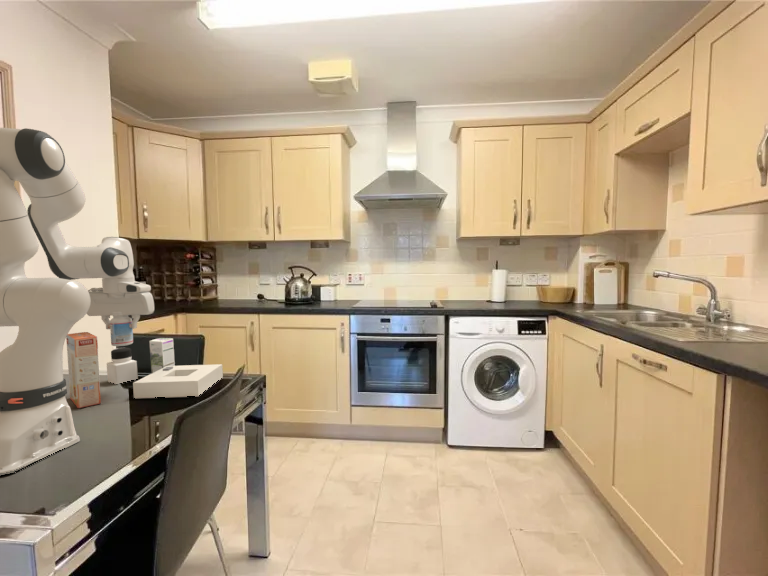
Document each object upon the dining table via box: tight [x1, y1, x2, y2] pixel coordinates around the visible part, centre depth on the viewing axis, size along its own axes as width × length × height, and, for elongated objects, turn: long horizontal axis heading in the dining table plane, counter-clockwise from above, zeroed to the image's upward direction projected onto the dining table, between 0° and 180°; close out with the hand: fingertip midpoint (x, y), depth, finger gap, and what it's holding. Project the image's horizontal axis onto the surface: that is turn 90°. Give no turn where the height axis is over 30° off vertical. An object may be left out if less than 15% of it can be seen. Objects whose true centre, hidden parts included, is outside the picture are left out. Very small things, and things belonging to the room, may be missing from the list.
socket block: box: [132, 363, 224, 399], centre depth 129 cm, size 20×20×6 cm
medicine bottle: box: [106, 347, 139, 385], centre depth 138 cm, size 7×7×12 cm
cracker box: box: [65, 331, 101, 409], centre depth 117 cm, size 14×6×21 cm, turn 47°
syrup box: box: [148, 337, 176, 374], centre depth 141 cm, size 6×6×14 cm
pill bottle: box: [109, 312, 134, 347], centre depth 125 cm, size 6×6×11 cm
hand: (121, 328), depth 125 cm, fingers closed on pill bottle, 6 cm apart
